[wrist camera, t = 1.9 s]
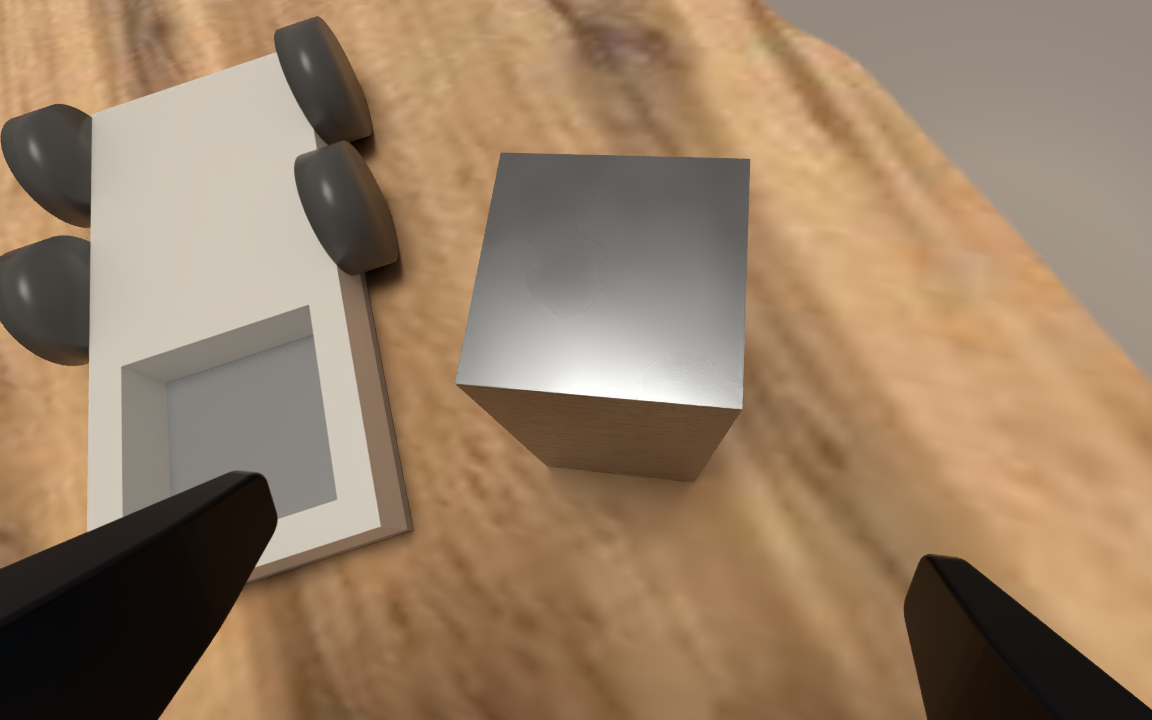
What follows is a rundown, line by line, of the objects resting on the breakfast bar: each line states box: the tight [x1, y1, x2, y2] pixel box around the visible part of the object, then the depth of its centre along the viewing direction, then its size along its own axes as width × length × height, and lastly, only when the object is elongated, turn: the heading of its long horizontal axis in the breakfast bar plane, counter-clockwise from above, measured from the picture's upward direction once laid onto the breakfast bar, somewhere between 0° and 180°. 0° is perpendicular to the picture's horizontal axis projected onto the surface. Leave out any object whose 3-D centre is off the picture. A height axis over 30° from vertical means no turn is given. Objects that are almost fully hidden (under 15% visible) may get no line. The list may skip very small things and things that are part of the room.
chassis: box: [0, 16, 413, 584], centre depth 21 cm, size 21×13×5 cm, turn 17°
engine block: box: [455, 153, 750, 482], centre depth 15 cm, size 5×5×10 cm
